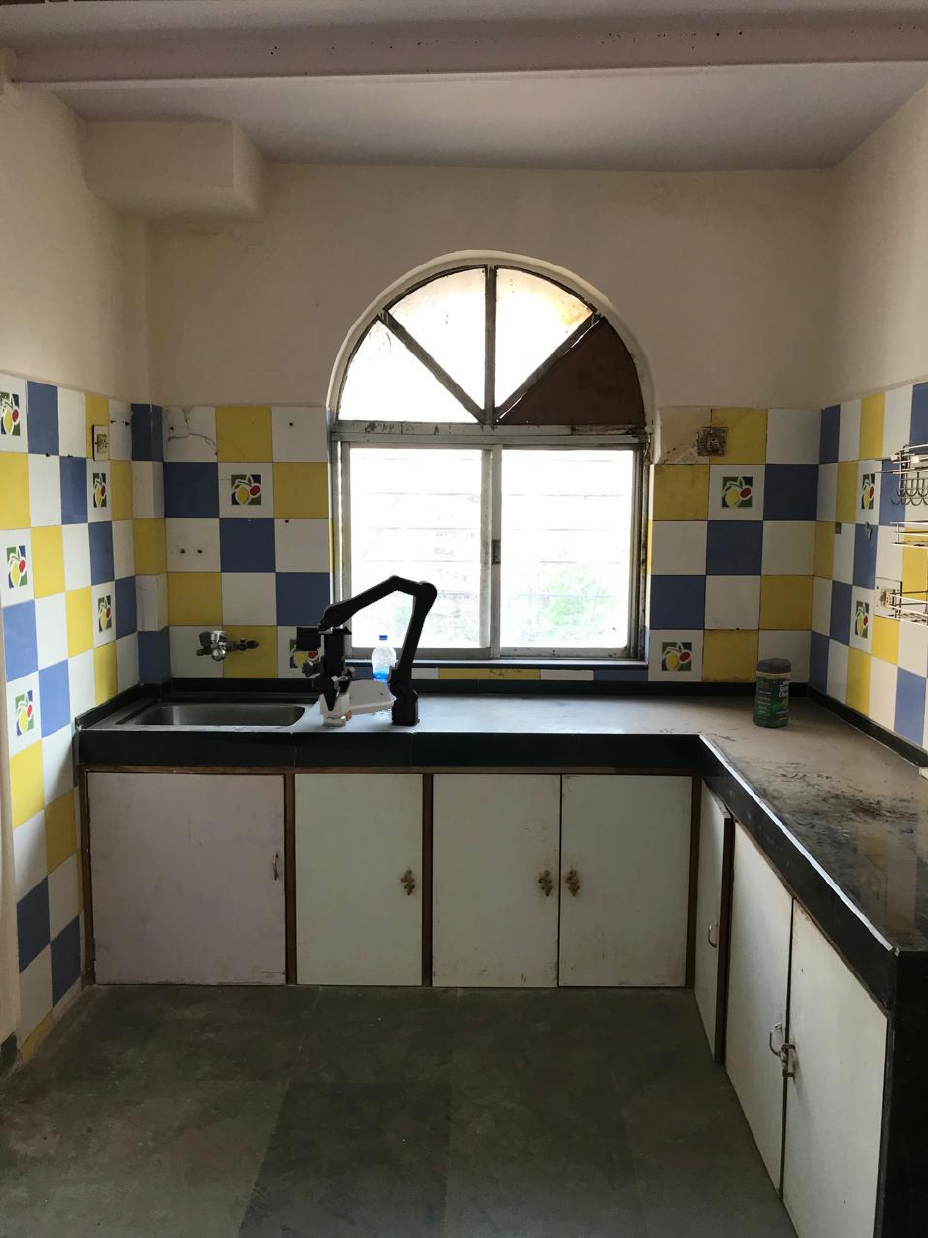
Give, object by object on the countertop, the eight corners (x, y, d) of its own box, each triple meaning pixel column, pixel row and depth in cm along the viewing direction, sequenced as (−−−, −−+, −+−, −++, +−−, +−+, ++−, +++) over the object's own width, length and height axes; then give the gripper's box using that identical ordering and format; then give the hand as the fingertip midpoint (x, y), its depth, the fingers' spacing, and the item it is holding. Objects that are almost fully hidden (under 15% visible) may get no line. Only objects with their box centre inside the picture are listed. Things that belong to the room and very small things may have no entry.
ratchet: (355, 718, 270) (355, 699, 269) (341, 728, 258) (341, 708, 257) (335, 717, 271) (335, 698, 270) (320, 727, 259) (320, 706, 259)
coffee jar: (773, 729, 262) (776, 662, 260) (748, 724, 268) (751, 658, 266) (793, 724, 268) (796, 658, 266) (768, 719, 274) (771, 654, 272)
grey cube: (349, 710, 264) (349, 692, 263) (341, 715, 258) (341, 696, 257) (327, 709, 265) (327, 691, 264) (319, 714, 259) (319, 695, 258)
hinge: (344, 716, 273) (338, 681, 274) (337, 718, 276) (331, 684, 278) (395, 709, 282) (390, 675, 284) (388, 712, 286) (382, 678, 287)
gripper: (318, 645, 270) (318, 700, 272) (292, 655, 252) (293, 714, 254) (356, 646, 268) (356, 702, 270) (333, 657, 250) (333, 716, 251)
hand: (334, 708), depth 261 cm, fingers closed on grey cube, 6 cm apart
